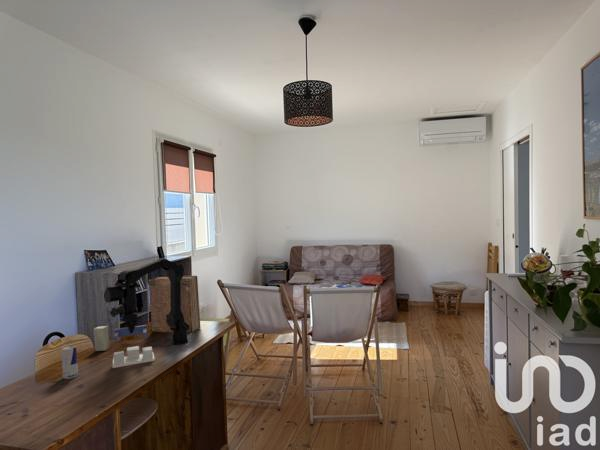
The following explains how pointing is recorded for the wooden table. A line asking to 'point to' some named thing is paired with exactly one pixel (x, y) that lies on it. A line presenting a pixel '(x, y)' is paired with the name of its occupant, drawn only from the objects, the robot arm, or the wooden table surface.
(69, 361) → the energy drink
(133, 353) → the display stand
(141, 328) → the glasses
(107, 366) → the wooden table surface
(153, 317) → the book
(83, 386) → the wooden table surface
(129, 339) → the wooden table surface
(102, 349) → the box
